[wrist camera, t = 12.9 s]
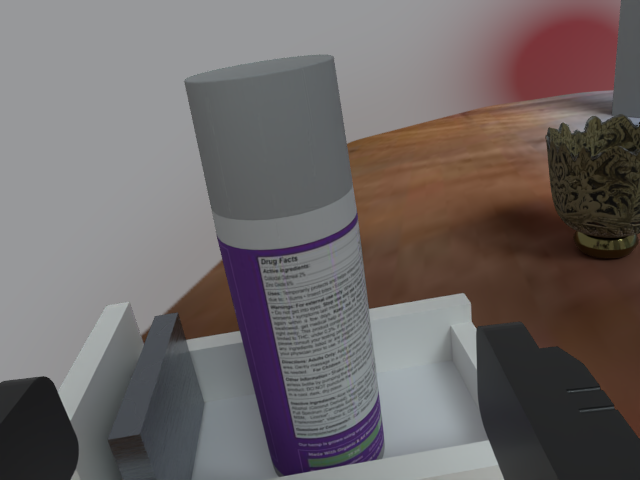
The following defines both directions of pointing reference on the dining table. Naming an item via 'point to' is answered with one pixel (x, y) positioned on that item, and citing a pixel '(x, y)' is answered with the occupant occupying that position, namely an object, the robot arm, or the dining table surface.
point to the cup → (598, 184)
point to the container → (292, 255)
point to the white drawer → (243, 412)
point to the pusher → (159, 409)
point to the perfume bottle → (628, 61)
